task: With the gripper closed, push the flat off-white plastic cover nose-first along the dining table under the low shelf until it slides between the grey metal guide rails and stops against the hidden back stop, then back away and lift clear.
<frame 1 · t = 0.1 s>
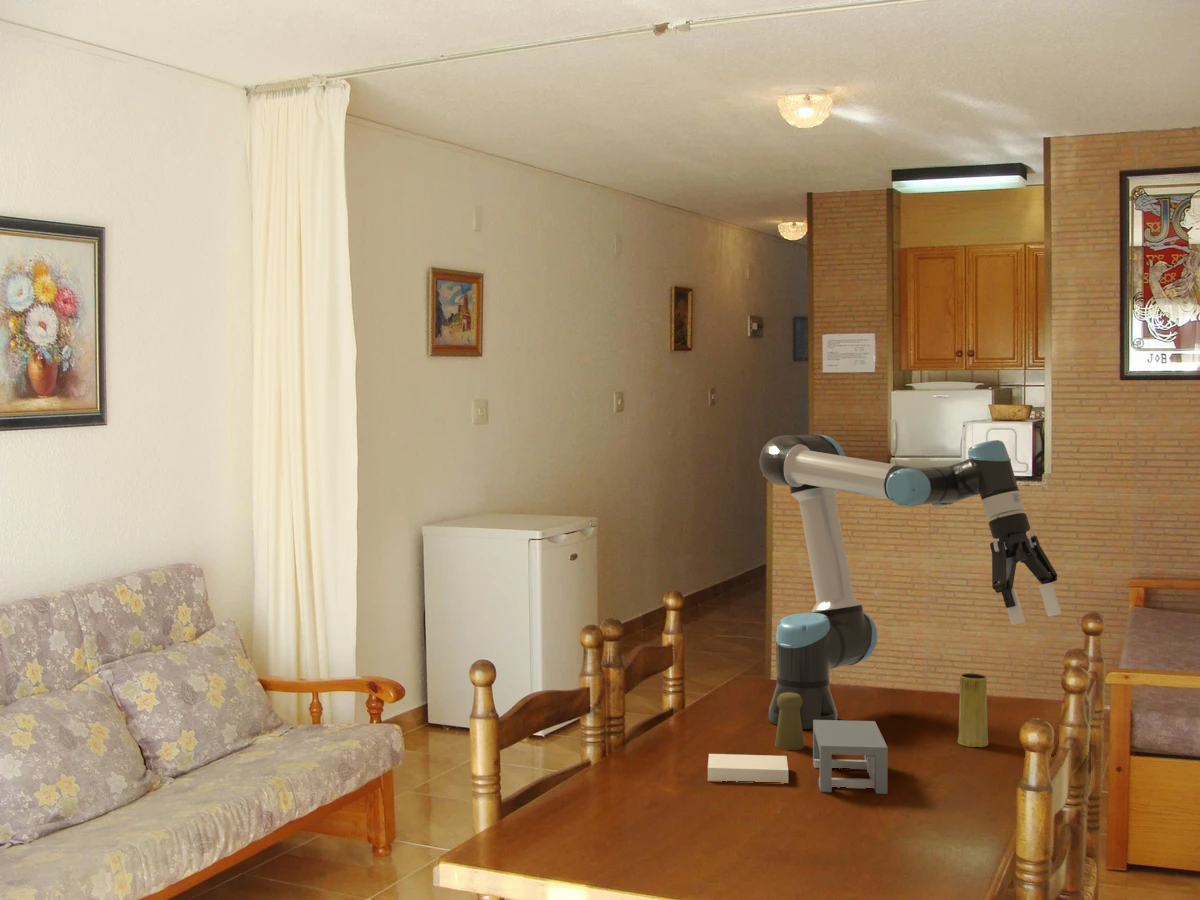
hand: (1037, 619, 235), 28 cm above the table, tool tilted 20°, fingers open, 13 cm apart
vase: (972, 744, 246), on the table
cork: (789, 746, 245), on the table
shelf: (848, 777, 224), on the table
cover: (747, 777, 226), on the table
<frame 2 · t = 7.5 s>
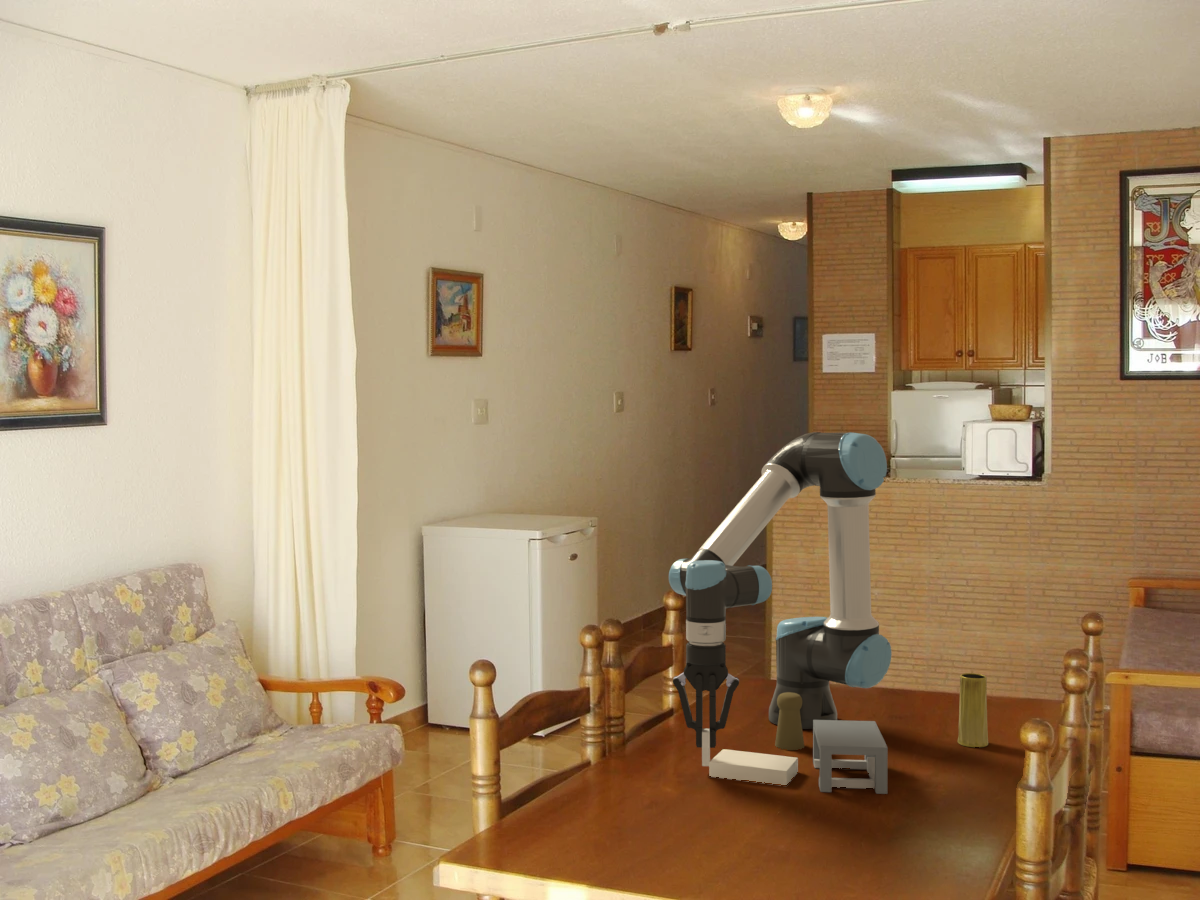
hand: (706, 763, 227), 2 cm above the table, tool pointing down, fingers closed
cover: (753, 775, 226), on the table
everything else where it was.
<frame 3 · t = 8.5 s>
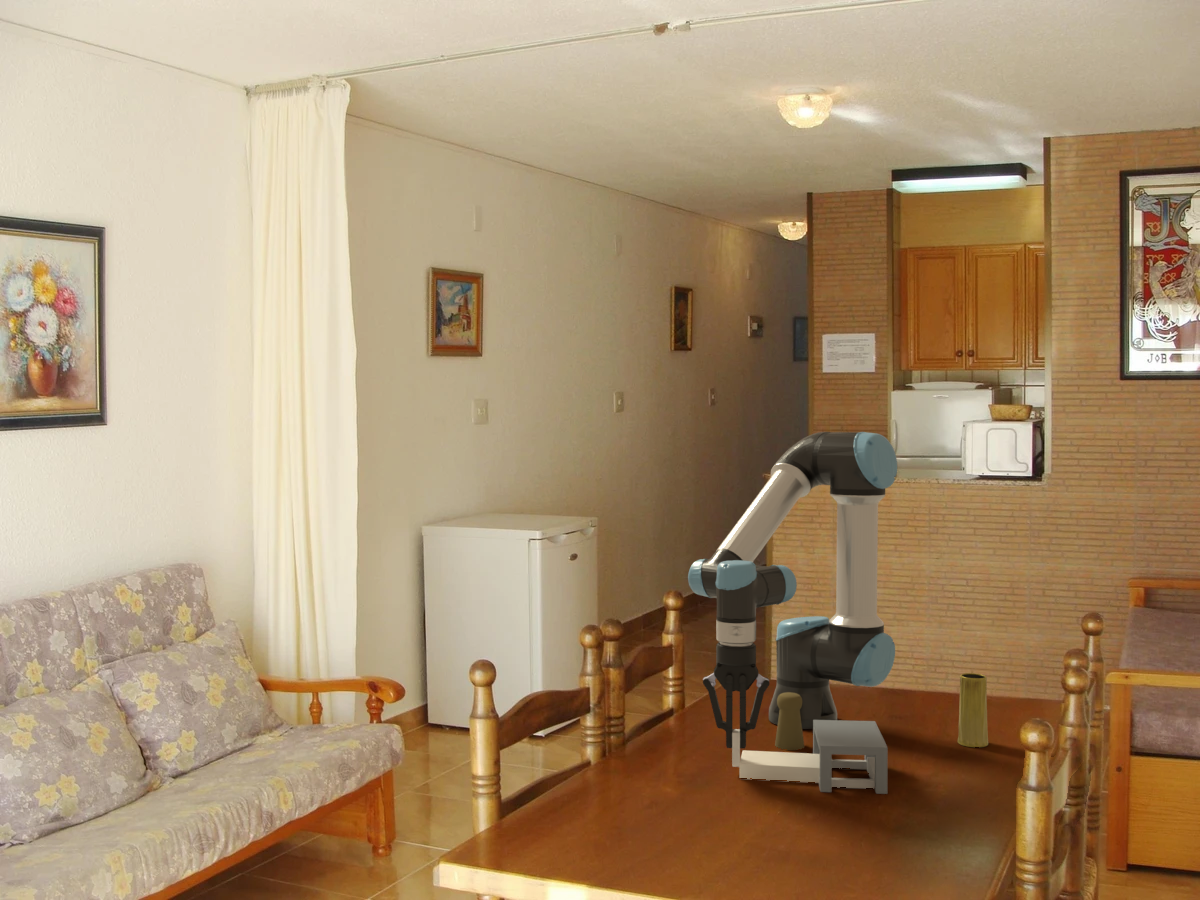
hand: (736, 764, 226), 2 cm above the table, tool pointing down, fingers closed
cover: (780, 774, 227), on the table, touching gripper
everything else where it was.
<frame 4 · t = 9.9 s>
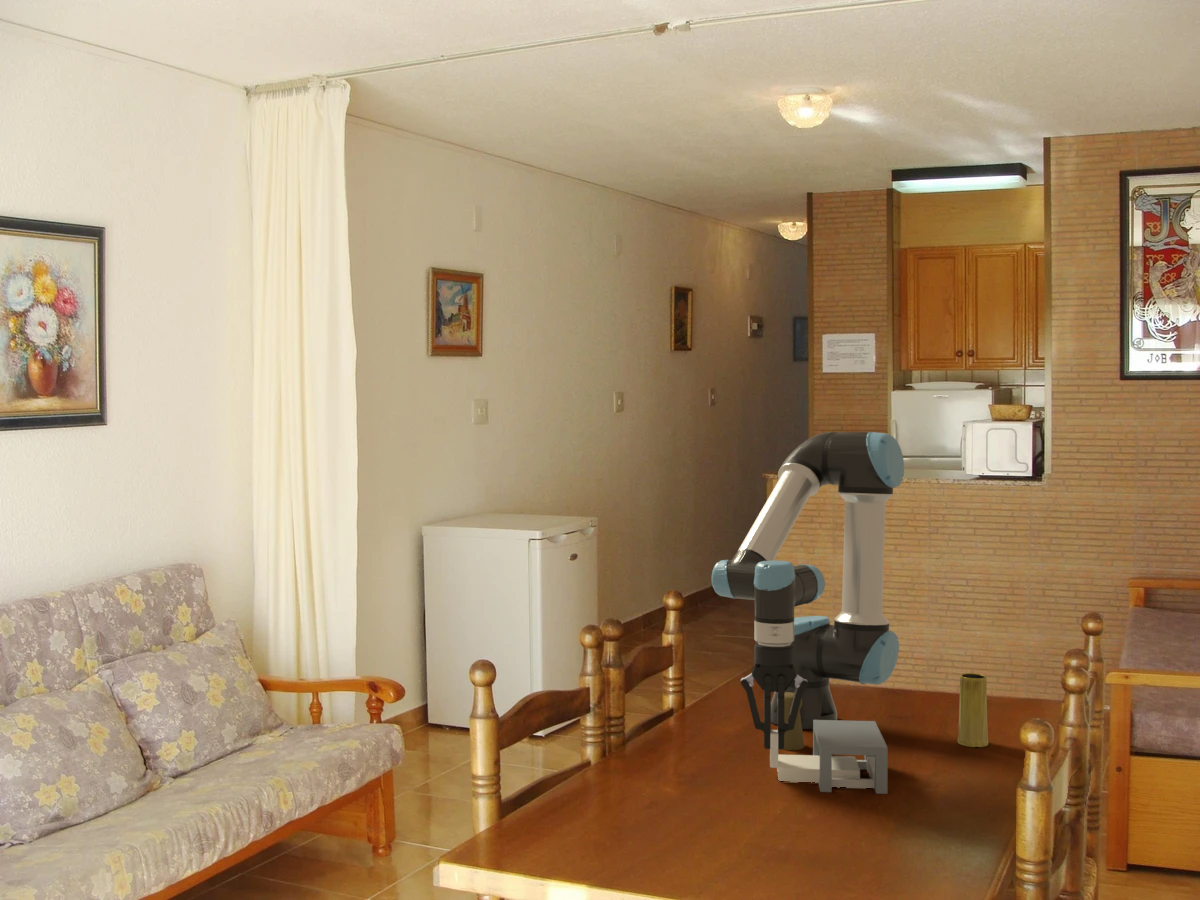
hand: (774, 765, 226), 2 cm above the table, tool pointing down, fingers closed
cover: (817, 777, 226), on the table, touching gripper
everything else where it was.
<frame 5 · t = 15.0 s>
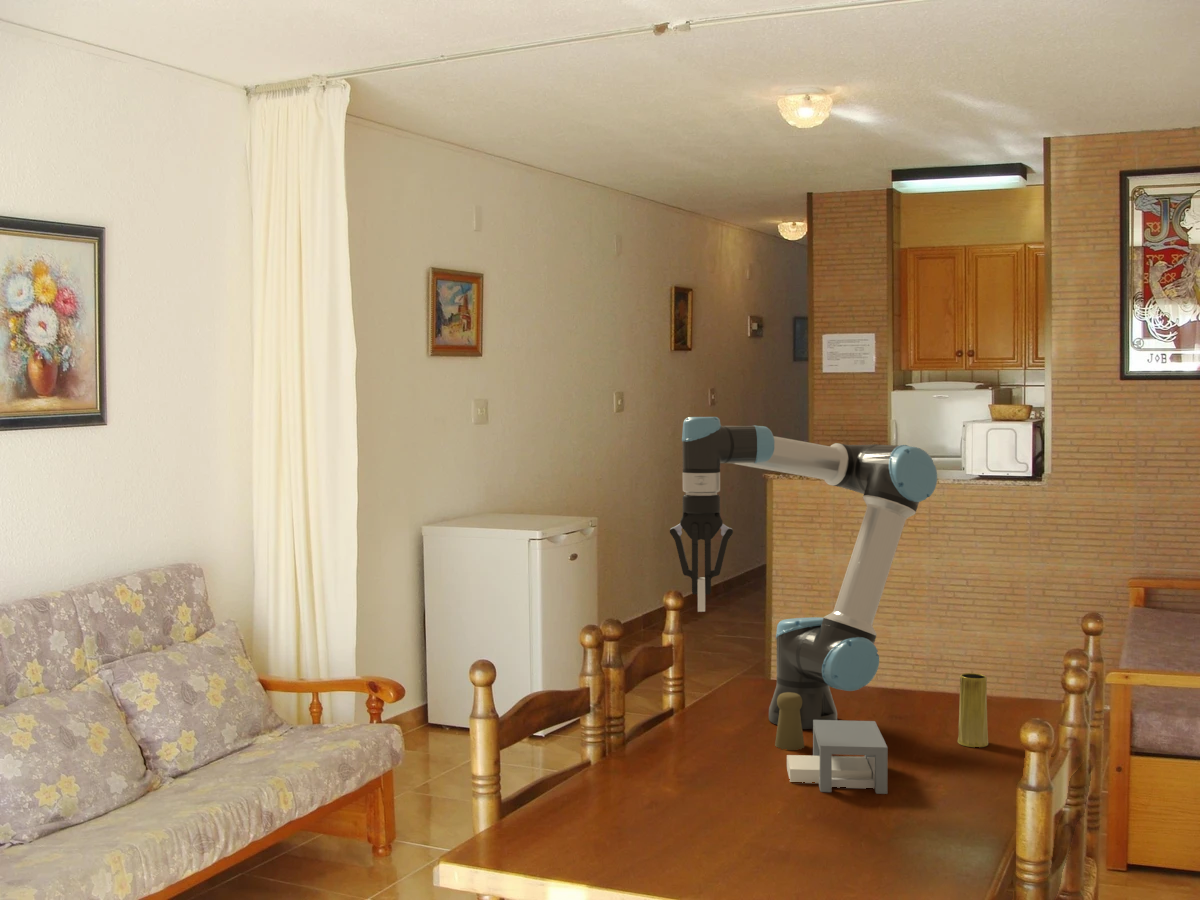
hand: (701, 610, 238), 29 cm above the table, tool pointing down, fingers closed
cover: (828, 778, 225), on the table
everything else where it was.
at the end: cover 0.8 cm from the target spot, on the table; cover tilted 0°; the gripper is holding nothing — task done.
